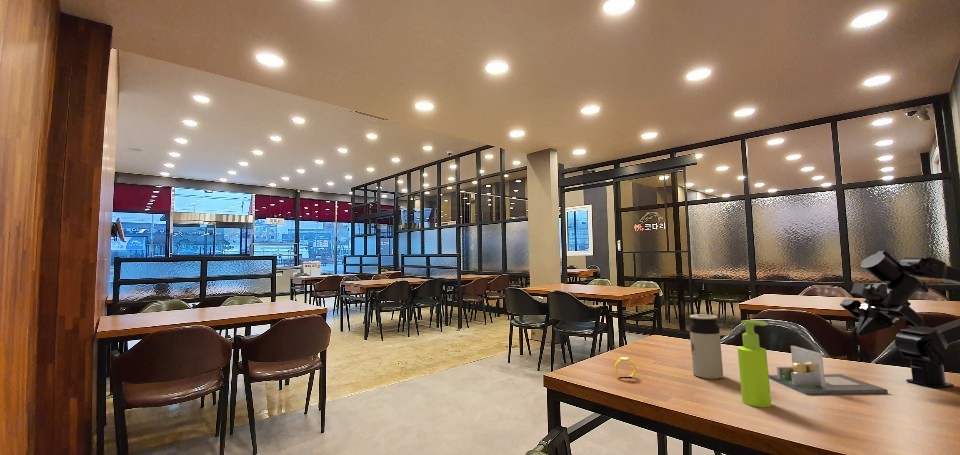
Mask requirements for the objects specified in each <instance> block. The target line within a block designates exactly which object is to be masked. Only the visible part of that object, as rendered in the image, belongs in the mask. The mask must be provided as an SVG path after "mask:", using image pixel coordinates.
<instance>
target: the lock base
mask: <svg viewBox="0 0 960 455" xmlns="http://www.w3.org/2000/svg"><path fill="white" fill-rule="evenodd" d="M792 367H793V372H807V365H806V364H805V363H801V362H793V364H792ZM768 375H769V380H771V379H772V381H774V382H777V383H779V384H781V385H783V386H785V387H788V388H790V389H792V390H795V391H797V392H799V393H802V394H804V395H811V396H812V395H813V396H815V395H871V394H872V395H876V394H878V395H882V394H883V395H884V394H886V395H888V393H889V392H888V391H889V390H888V389H886V388H883V387H881V386H878V385H875V384H871V383H868V382H866V381H863V380H860V379H856V378H853V377H851V376H848V375H844V374H841V373H829V374H827V373H826V374H825V373H824V377H825V386H826V387H821V386H818V385H794V384H792V379H779V378H778V375H777V374H768Z"/></svg>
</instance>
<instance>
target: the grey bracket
mask: <svg viewBox="0 0 960 455" xmlns="http://www.w3.org/2000/svg"><path fill="white" fill-rule="evenodd" d="M790 352H791V353H790V354H791V362H792V365H793V362H801V363H805V364H806V365H807V372H793V366H776V371H777V372H776V373H777V374H776V375H778V378H779V379H792V384H794V385H818V386H821V387H826V386H825V377H824V374H825V369H824V359H823V353H821V352H817V351H814V350H810V349H807V348H803V347H799V346H795V345H790Z"/></svg>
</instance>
